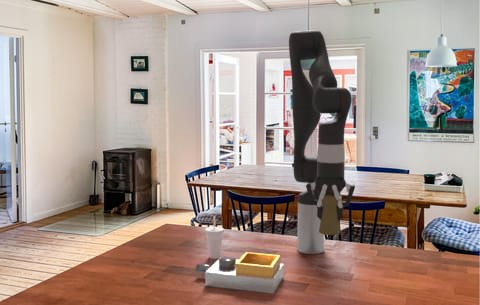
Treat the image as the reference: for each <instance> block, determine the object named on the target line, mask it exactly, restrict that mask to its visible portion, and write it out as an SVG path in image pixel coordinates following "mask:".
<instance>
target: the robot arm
mask: <svg viewBox="0 0 480 305" xmlns="http://www.w3.org/2000/svg"><path fill="white" fill-rule="evenodd" d="M326 45H327V44H326V40H325V38H324V35H323V33H322V32H321V31H320V30H315V29H313V30H311V29H309V30H297V31H292V32H291V33H290V34H289V38H288V52H289V62H290V63H289V64H290V71H291V72H290V73H291V74H290V75H291V88H292V89H291V92H292V93H291V94H292V95H291V98H292V99H291V100H292V101H291V104H292V106H291V107H292V120H293V122H292V123H293V124H292V126H293V138H294V139H293V166H292V167H293V177H294V180H295V181H296V182H298V183H304V184H305V183H306V185H305V187H306V190H305V191H303V192H300V193H299V194H298V195H297V240H296V241H297V244H296V246H297V247H296V248H297V249H296V250H297V251H298V252H299V253H302V254H306V255H307V254H308V255H316V254H322V253H323V252H324V251H325V250H324V249H325V247H324V246H325V234H321V233H319V228H320V221H321V219H322V208H323V205H322V199H323V198H324V195H334V196H335V198H336V199H337V200H338V216H337V218H338V221H339V222H341V220H343V218H344V208H345V207H349V206H350V203H351V200H352V198H353V195H354V192H355V189H356V185H355V184H350V183H347V181H346V180H345V166H346V165H345V163H346V162H345V158H346V157H345V152H346V151H345V130H346V129H345V127H346V123H347V119H348V116H349V112H350V110H351V107H352V106H351V105H352V101H353V100H352V94H351V92H350V90H349V89H348V88H346V87H338V80H337V78H336V76H335V73H334V72H333V70H332V67H331V63H330V59H329V58H330V57H329V53H328V50H327V46H326ZM305 60H306V61H307V60H314V61H312V64H311V66H310V67H309V70H308V78H309V80H308V78H307V77H306V75H305V72H304V70H303V67H302V61H305ZM321 114H335V115H334V118H333V119H331V120H329V121H325V122H322V123H320V121H321ZM319 123H320V124H319ZM318 125H319V126H318ZM317 126H318V135H317V136H318V137H317V139H318V143H317V145H318V146H317V154H316V156H312V155H311V156H309V155H307V156H306V154H305V150H306V145H307V143H308V142H309V139H310V138H311V136H312V134H313V133H314V132H315V130H316V128H317ZM344 188H346V192H347V193H348V194H347V196H346V200H345V201H343V198H342V194H341V192H343V190H344Z"/></svg>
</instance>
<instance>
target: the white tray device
mask: <svg viewBox="0 0 480 305" xmlns="http://www.w3.org/2000/svg"><path fill="white" fill-rule="evenodd" d="M195 270H196V271H195V272H197V273H202V274H204V275H205V276H204V277H205V278H204V280H205V287H215V288H220V289H222V288H223V289H232V290H241V291H247V292H248V291H250V292H255V293H257V292H259V293H266V294H275V292H276V290H277V289H278V287H279V285H280V283H282V282H281V281H282V280H283V278H284V263H281V255H280V254H269V253H259V252H251V251H250V252H248V251H246V252H245V253H243V255H241V257H240V258H239V259H236V258H235V257H232V256H223V257H220V258H217V260H216V261H215V262H214V263H213V264H212V265H211V264H203V263H197V264H196V267H195Z"/></svg>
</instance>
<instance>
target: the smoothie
mask: <svg viewBox="0 0 480 305" xmlns="http://www.w3.org/2000/svg"><path fill="white" fill-rule="evenodd" d="M204 230H205V231H204V233H205V235H206V243H207V250H208V257H209V258H210V259H211V260H212V259H214V260H215V259H217V260H218V259H220V258H221V253H222V244H223V242H222V241H223V236H224V234H223V233H225V229H224V227H220V226H216V215H213V226H209V227H206V228H205V229H204Z"/></svg>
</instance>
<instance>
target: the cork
mask: <svg viewBox="0 0 480 305" xmlns="http://www.w3.org/2000/svg"><path fill="white" fill-rule="evenodd" d="M322 205H323V208H322V219H321V221H320V228H319V233H321V234H324V236H337V235H338V236H339V235H340V234H341V224H340V221H338V218H337V216H338V200H337V199H336V198H335V196H334V195H324V198H323V199H322Z"/></svg>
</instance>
